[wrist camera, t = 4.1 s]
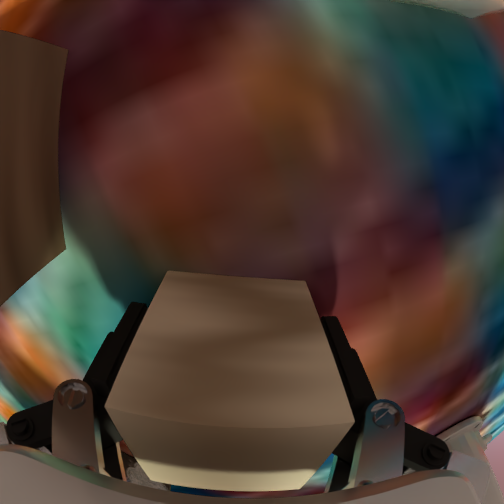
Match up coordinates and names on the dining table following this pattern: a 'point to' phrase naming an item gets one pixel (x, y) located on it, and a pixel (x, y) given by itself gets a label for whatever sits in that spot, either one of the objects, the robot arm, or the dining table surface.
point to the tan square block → (29, 158)
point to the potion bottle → (461, 6)
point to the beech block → (230, 385)
